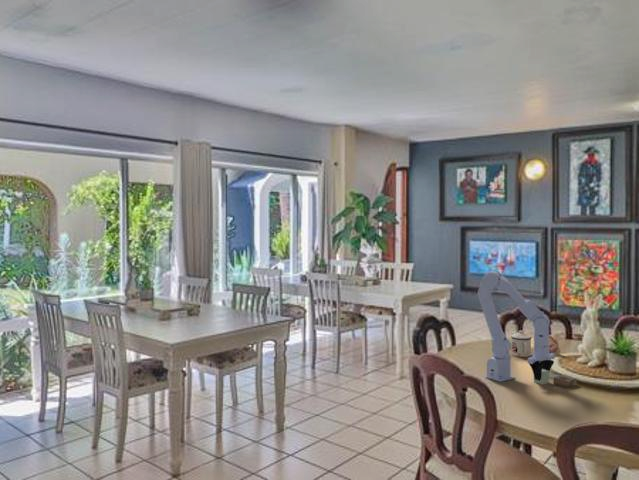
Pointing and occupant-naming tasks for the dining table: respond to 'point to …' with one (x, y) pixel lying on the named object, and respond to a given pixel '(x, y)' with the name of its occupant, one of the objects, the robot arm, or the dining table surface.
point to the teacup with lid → (521, 344)
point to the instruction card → (553, 376)
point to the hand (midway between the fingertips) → (541, 378)
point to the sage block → (543, 377)
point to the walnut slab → (564, 381)
